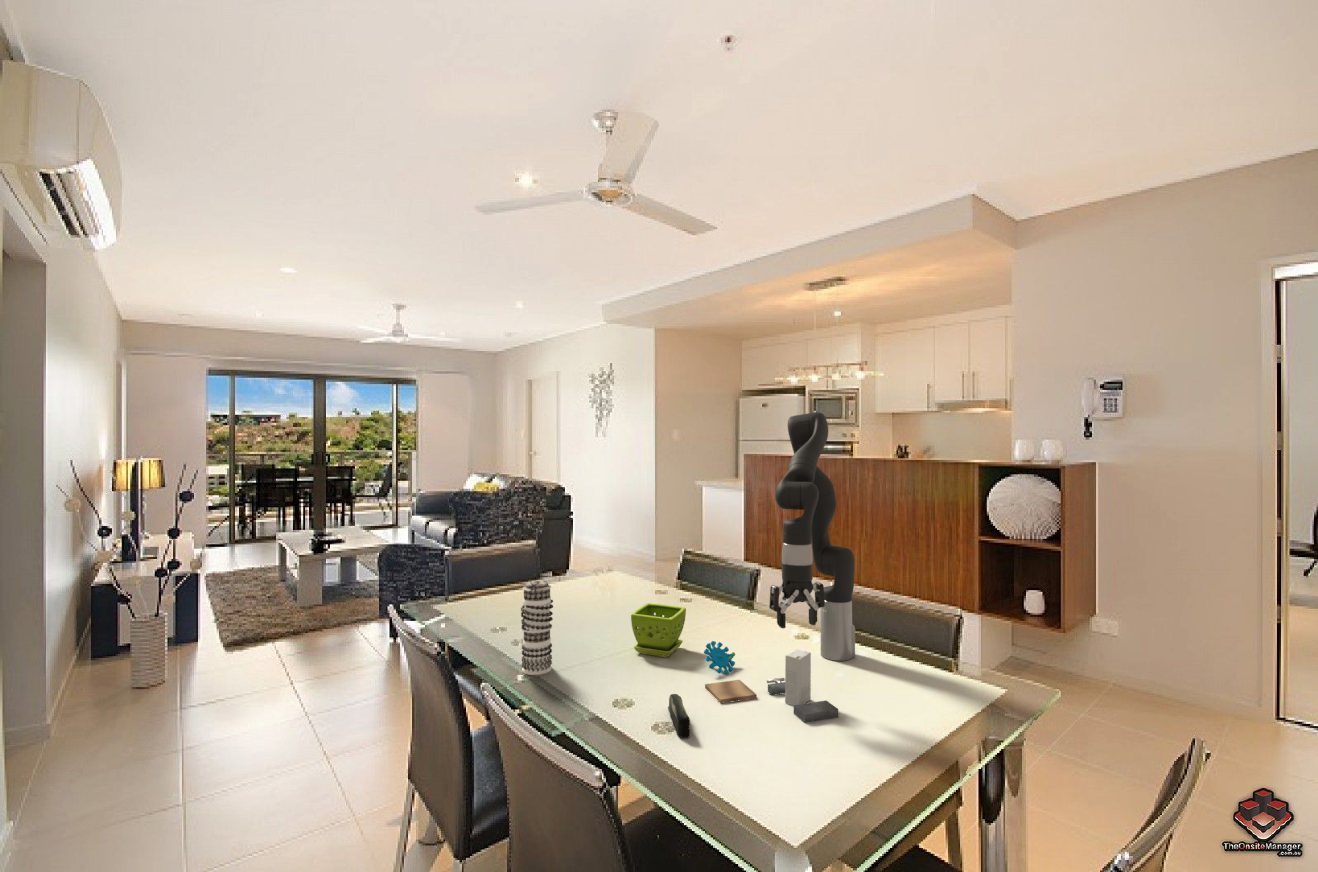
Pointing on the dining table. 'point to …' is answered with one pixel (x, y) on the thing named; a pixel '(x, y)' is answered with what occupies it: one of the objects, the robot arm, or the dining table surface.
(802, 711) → the dark grey blocks
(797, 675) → the skincare box
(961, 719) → the dining table surface
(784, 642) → the dining table surface
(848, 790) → the dining table surface
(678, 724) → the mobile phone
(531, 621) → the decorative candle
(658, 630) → the flower pot
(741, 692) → the coaster
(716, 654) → the gear
